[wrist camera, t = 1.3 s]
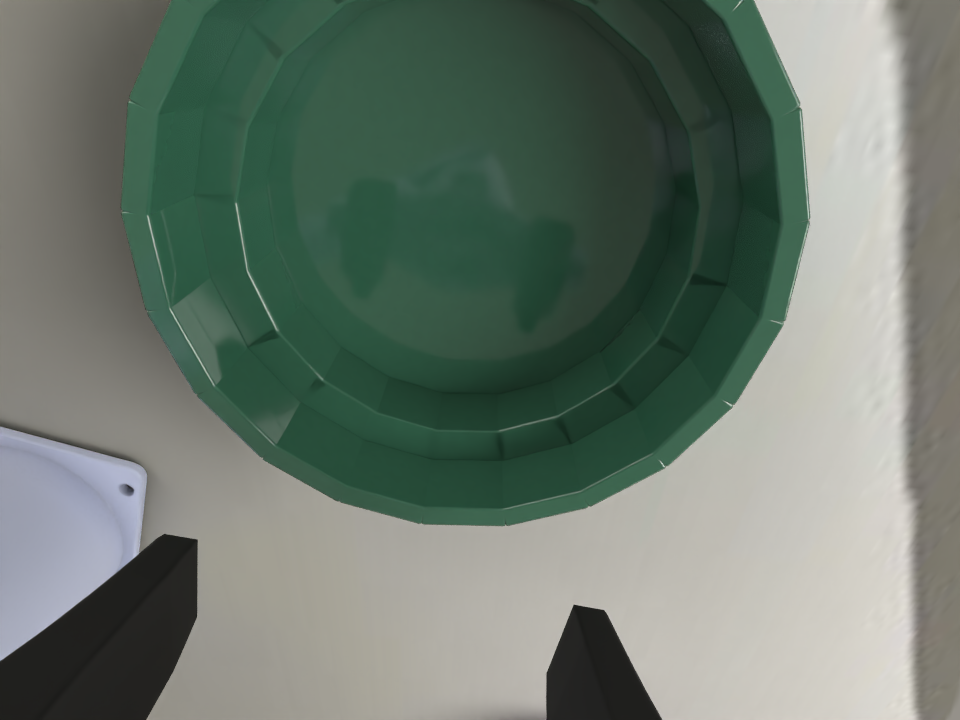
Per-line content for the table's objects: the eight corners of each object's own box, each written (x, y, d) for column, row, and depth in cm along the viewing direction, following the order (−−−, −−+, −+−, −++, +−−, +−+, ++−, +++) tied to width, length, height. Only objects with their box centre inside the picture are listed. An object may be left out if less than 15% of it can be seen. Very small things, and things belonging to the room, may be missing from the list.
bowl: (600, 471, 21) (628, 582, 17) (193, 352, 20) (103, 439, 15) (828, 36, 15) (966, 28, 11) (266, -192, 14) (152, -315, 9)
